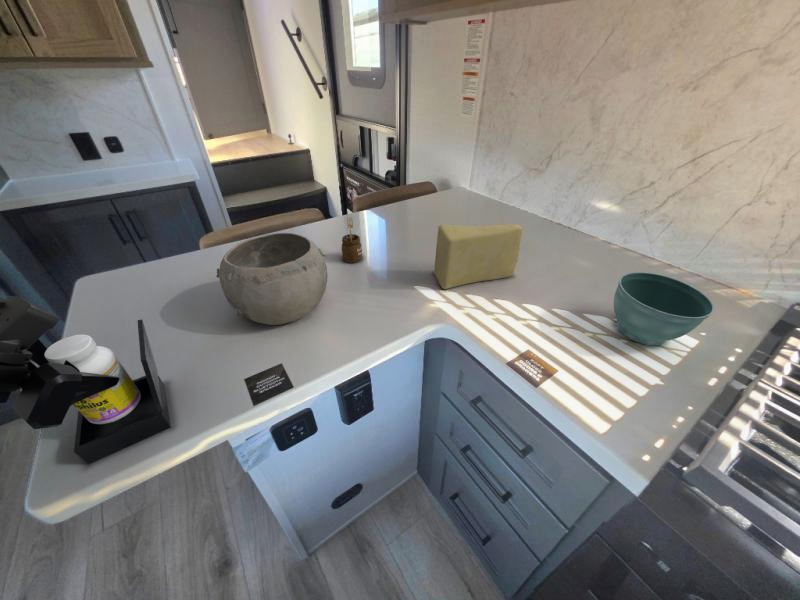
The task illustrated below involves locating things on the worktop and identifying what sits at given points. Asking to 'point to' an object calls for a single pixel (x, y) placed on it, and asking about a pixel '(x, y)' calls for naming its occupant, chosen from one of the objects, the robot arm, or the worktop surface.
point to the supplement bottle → (97, 361)
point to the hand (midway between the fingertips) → (105, 371)
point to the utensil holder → (351, 246)
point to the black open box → (122, 426)
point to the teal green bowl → (658, 307)
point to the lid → (149, 366)
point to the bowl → (274, 278)
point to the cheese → (476, 253)
